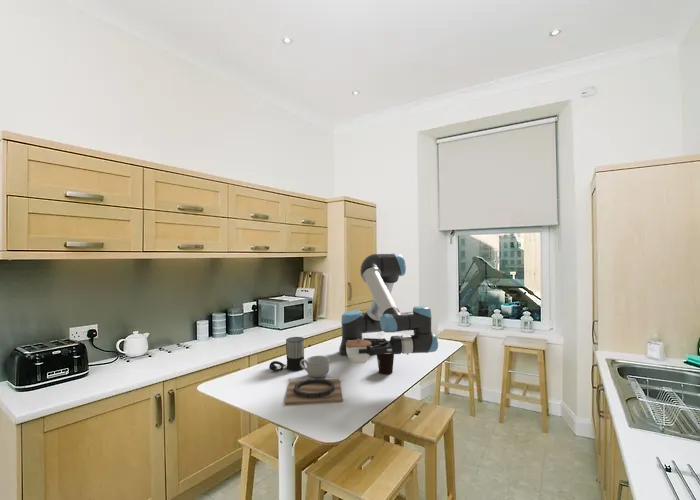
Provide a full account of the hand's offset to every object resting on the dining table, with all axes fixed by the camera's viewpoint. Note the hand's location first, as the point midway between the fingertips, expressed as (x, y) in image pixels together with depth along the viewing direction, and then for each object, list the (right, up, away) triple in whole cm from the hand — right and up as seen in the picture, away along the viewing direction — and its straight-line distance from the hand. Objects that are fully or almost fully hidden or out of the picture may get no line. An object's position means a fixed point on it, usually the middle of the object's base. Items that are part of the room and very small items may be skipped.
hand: (348, 347), depth 143 cm
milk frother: (-31, -19, +28) cm, 46 cm away
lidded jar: (+4, -6, 0) cm, 7 cm away
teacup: (-16, -19, +18) cm, 30 cm away
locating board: (-14, -18, -1) cm, 23 cm away
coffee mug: (+18, -18, +22) cm, 33 cm away
